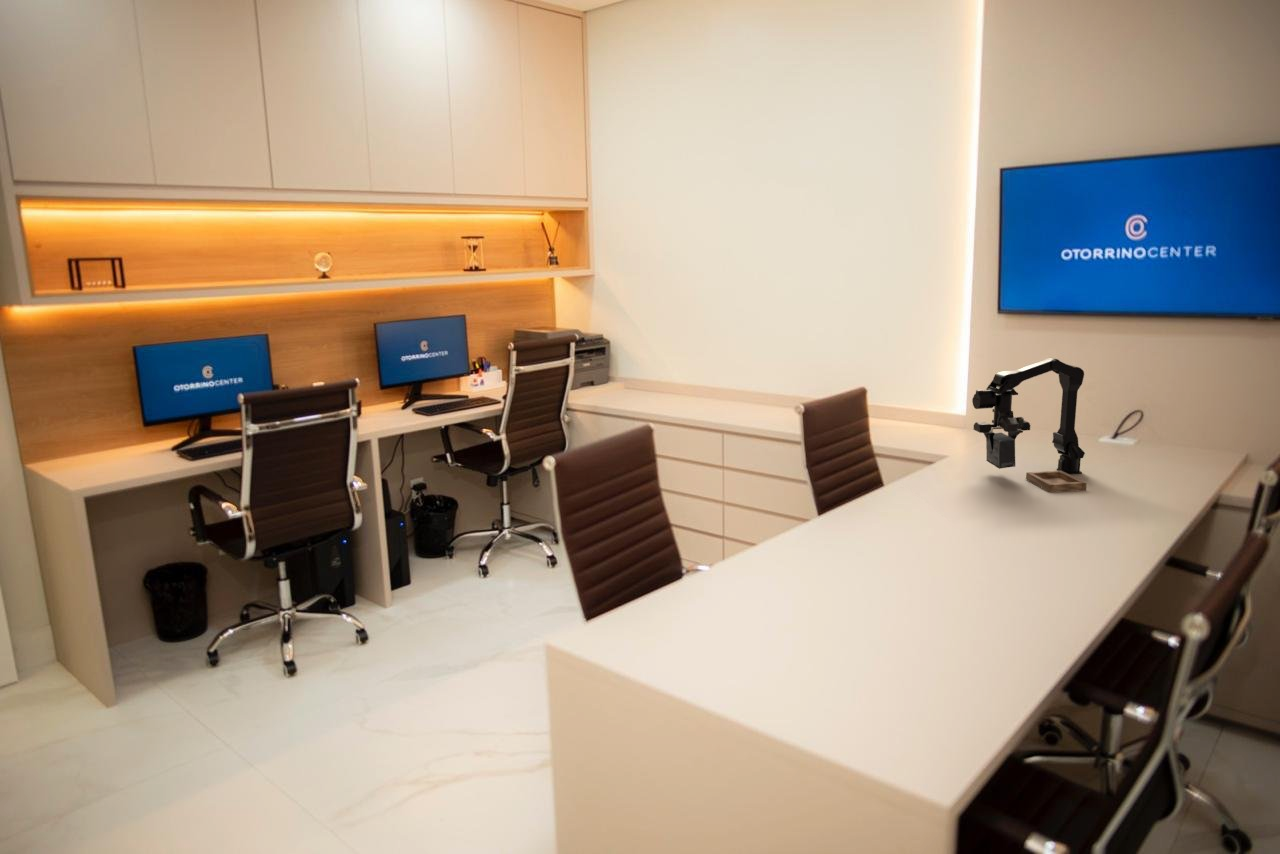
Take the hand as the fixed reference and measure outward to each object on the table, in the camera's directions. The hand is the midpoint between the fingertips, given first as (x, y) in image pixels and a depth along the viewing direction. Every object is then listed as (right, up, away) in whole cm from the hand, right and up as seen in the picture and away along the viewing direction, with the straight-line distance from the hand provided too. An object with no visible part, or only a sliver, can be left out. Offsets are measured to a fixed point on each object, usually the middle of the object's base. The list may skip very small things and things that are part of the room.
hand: (1000, 449), depth 311 cm
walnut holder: (+15, -12, -10) cm, 22 cm away
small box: (+1, -6, +2) cm, 6 cm away
